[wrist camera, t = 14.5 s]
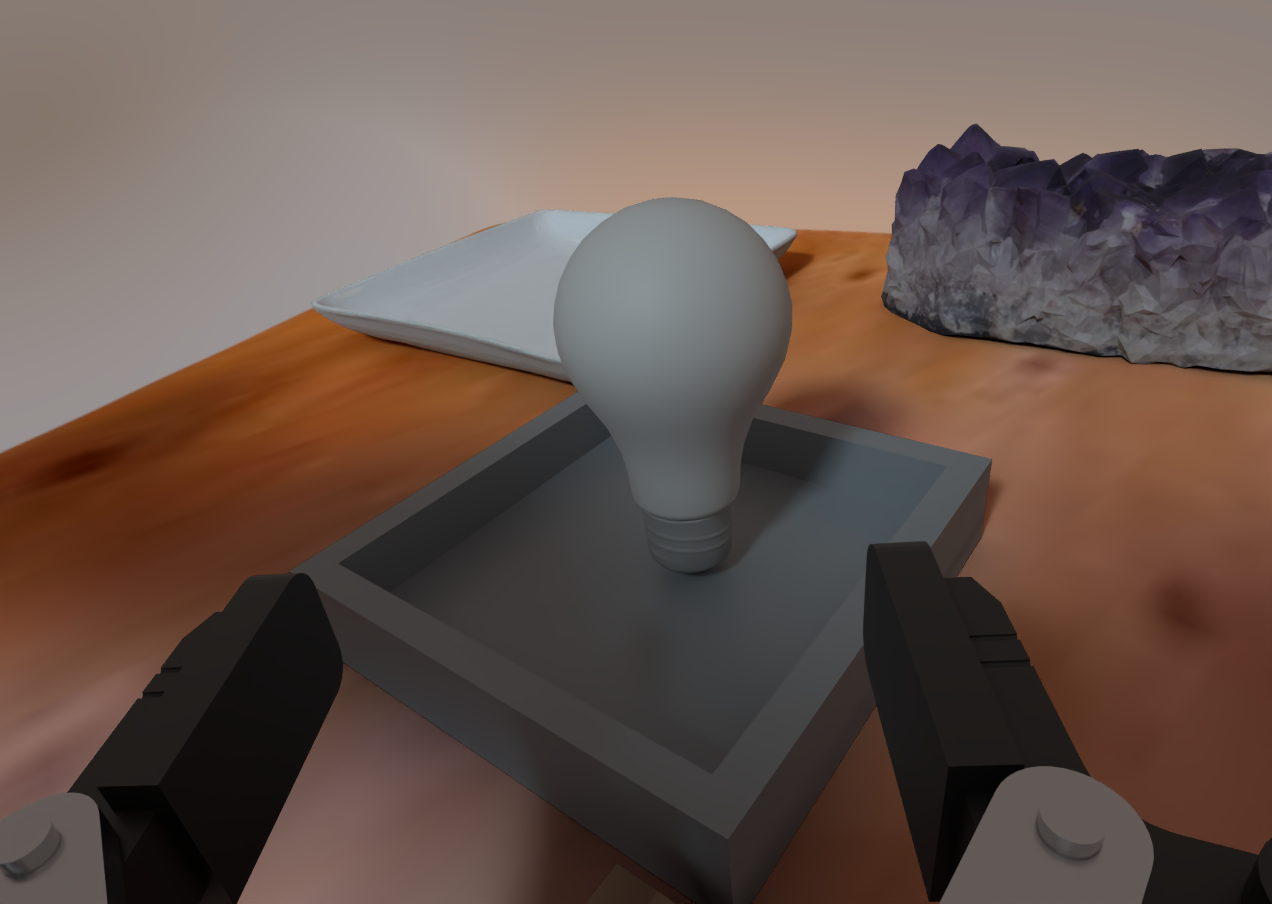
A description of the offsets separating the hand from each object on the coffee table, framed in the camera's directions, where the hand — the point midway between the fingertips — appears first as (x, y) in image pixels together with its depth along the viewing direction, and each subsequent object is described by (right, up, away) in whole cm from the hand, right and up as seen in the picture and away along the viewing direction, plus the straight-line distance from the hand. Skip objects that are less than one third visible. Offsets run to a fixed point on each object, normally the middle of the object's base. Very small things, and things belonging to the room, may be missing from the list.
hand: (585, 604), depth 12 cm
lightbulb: (+3, -1, +13) cm, 13 cm away
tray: (+1, -2, +14) cm, 14 cm away
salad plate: (-3, +10, +37) cm, 39 cm away
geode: (+23, +8, +27) cm, 37 cm away
